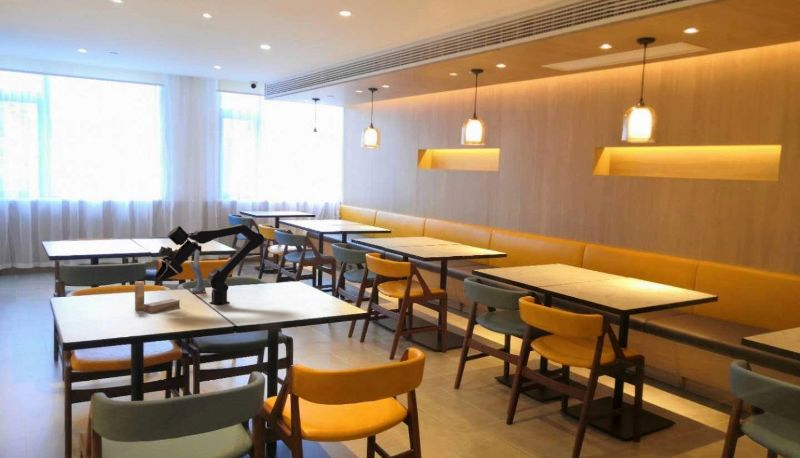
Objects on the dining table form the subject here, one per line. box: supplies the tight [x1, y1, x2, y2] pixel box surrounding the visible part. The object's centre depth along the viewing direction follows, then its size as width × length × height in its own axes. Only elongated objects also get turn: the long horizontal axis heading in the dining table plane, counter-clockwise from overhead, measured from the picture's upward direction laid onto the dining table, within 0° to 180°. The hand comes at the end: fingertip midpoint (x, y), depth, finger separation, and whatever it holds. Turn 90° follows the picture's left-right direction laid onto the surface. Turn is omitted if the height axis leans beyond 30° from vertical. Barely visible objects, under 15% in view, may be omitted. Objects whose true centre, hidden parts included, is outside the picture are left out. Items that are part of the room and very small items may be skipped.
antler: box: [189, 241, 207, 294], centre depth 286 cm, size 12×8×25 cm
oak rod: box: [134, 280, 145, 312], centre depth 244 cm, size 4×4×12 cm
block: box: [143, 298, 180, 314], centre depth 247 cm, size 5×14×3 cm, turn 151°
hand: (157, 278), depth 247 cm, fingers open, 9 cm apart
